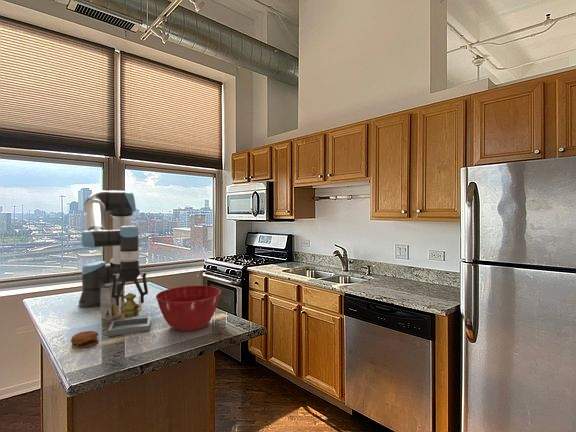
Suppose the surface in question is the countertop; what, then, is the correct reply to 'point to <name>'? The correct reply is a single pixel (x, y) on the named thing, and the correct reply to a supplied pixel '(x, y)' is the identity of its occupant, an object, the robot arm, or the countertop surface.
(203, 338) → the countertop surface
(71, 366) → the countertop surface
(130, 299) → the brass door knob
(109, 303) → the coffee box
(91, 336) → the burger
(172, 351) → the countertop surface
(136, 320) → the tray
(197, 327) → the mixing bowl
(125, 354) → the countertop surface
